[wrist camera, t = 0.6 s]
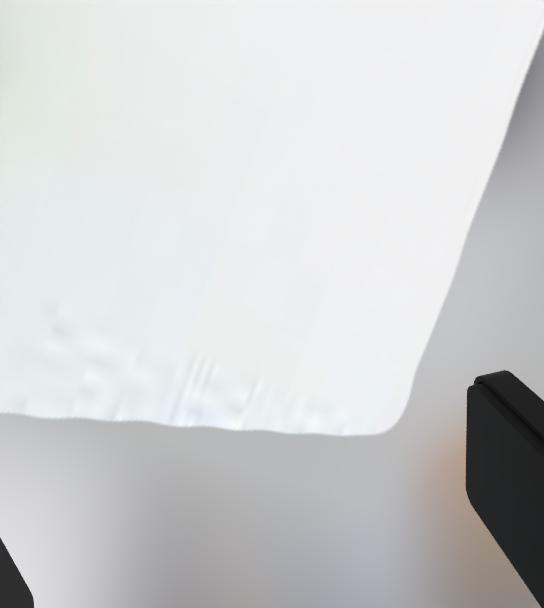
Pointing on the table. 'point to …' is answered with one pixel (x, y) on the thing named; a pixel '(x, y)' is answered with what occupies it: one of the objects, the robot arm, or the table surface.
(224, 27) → the table surface
